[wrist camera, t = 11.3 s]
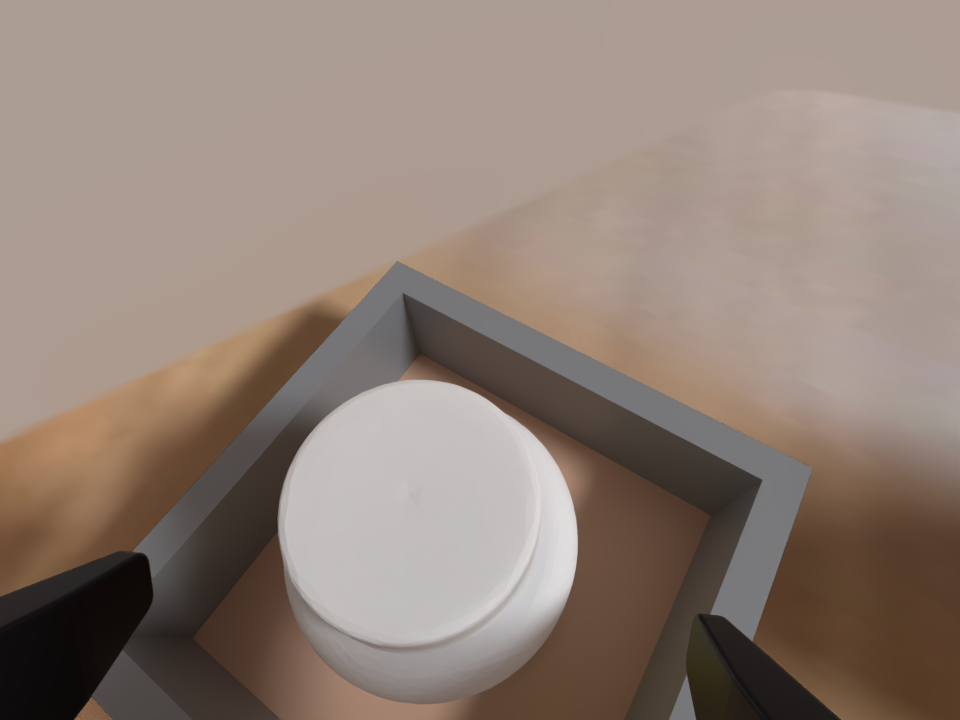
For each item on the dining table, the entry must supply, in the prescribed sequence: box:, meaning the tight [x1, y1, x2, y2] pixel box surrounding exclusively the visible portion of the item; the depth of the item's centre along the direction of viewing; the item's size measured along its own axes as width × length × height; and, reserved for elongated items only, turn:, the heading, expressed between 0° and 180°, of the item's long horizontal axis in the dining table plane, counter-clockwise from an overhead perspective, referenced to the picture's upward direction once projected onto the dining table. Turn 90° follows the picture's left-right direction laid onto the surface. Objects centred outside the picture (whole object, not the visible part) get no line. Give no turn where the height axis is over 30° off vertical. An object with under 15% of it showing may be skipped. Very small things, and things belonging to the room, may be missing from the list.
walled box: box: [91, 261, 813, 720], centre depth 15 cm, size 14×14×5 cm
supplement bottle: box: [277, 380, 578, 704], centre depth 12 cm, size 6×6×10 cm
